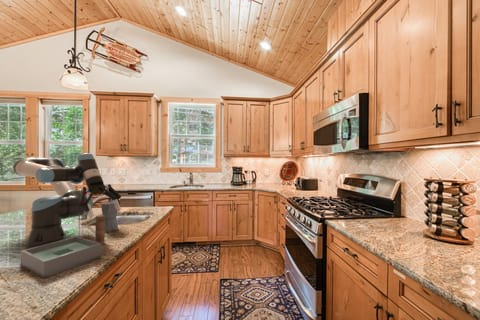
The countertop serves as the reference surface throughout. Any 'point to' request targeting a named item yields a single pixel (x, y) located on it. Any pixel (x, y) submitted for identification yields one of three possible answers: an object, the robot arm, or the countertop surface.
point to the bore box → (60, 256)
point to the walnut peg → (100, 229)
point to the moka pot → (109, 215)
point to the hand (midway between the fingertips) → (106, 213)
